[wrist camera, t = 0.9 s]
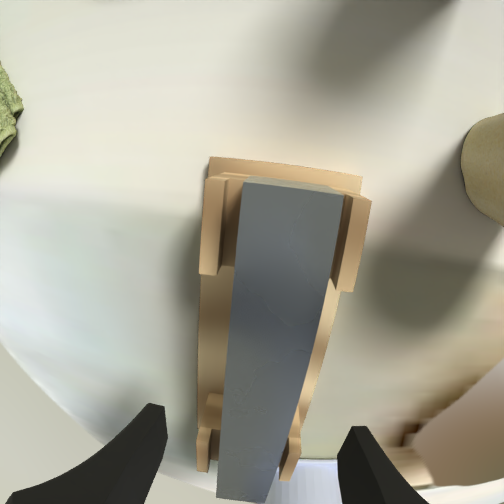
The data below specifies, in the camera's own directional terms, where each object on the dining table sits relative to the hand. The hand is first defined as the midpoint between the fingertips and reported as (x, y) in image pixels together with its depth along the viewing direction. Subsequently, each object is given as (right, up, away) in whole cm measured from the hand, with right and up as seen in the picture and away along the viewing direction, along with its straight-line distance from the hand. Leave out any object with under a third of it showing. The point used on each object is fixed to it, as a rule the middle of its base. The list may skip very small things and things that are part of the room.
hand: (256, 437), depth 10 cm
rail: (0, +1, +4) cm, 4 cm away
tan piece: (+1, +2, +8) cm, 8 cm away
